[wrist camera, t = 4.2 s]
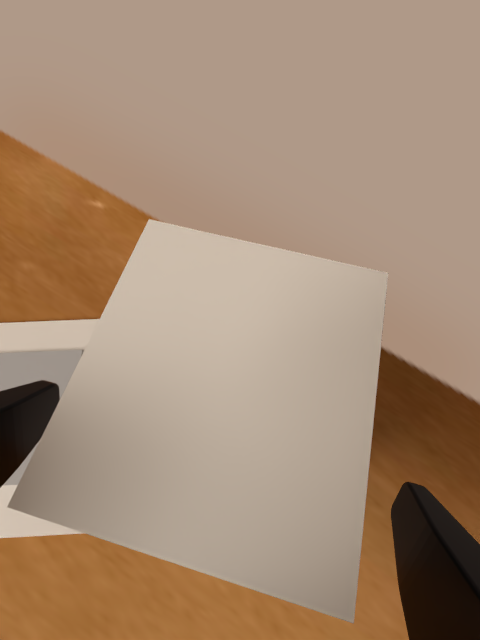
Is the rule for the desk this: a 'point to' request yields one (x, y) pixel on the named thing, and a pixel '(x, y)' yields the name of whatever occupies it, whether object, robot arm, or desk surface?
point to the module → (223, 416)
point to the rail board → (30, 366)
